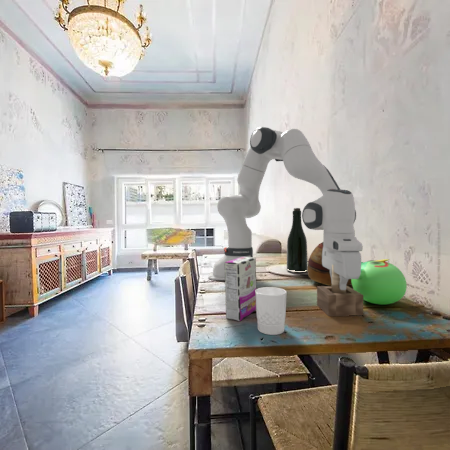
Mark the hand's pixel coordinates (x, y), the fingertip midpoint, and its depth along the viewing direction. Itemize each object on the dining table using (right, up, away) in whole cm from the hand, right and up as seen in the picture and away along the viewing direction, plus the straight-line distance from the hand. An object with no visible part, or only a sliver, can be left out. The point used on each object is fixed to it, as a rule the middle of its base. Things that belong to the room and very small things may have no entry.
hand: (338, 287), depth 83 cm
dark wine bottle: (+3, -5, +58) cm, 58 cm away
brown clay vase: (+10, -6, +32) cm, 34 cm away
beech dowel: (0, -5, 0) cm, 5 cm away
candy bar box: (-30, -8, -2) cm, 31 cm away
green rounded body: (+15, -7, +7) cm, 18 cm away
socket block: (0, -7, 0) cm, 7 cm away
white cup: (-23, -8, -14) cm, 28 cm away
